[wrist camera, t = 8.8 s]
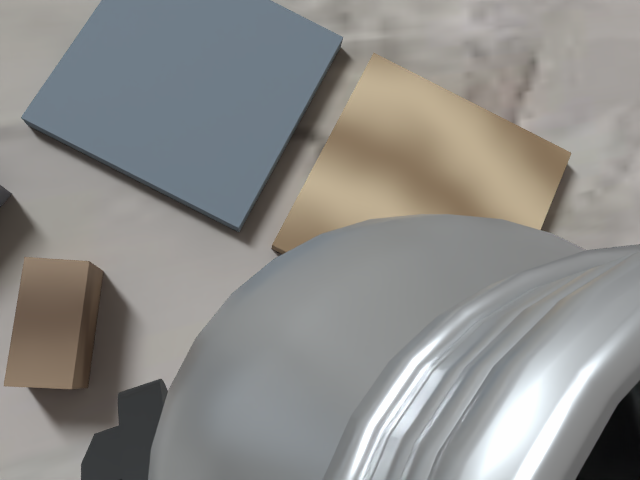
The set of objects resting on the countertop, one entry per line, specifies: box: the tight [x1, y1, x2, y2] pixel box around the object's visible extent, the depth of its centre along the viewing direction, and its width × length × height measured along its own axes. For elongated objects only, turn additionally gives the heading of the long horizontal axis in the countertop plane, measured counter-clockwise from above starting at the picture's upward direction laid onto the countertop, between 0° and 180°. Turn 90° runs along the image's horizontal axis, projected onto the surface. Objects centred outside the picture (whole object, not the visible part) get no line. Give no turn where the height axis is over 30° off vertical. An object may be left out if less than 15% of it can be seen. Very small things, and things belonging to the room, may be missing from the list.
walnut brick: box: [4, 257, 103, 389], centre depth 29 cm, size 6×3×3 cm, turn 177°
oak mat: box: [272, 53, 571, 254], centre depth 34 cm, size 13×13×1 cm
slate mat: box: [21, 0, 343, 232], centre depth 34 cm, size 13×13×1 cm
